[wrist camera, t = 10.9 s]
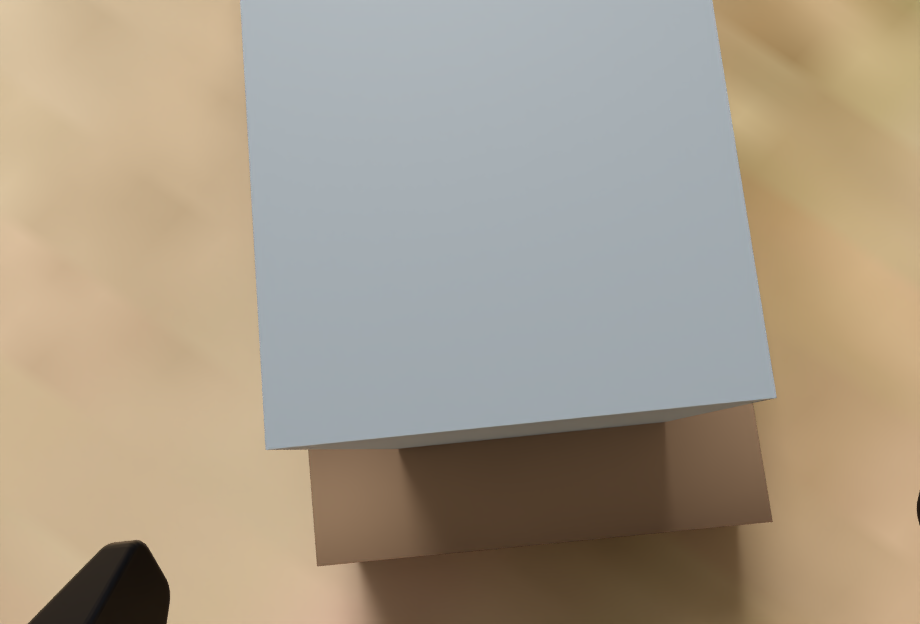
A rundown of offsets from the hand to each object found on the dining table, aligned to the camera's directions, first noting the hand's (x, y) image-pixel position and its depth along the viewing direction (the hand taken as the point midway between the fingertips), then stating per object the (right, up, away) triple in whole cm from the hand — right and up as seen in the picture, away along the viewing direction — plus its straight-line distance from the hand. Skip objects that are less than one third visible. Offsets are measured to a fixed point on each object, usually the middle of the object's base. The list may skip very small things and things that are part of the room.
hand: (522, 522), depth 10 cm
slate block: (0, +3, +9) cm, 10 cm away
